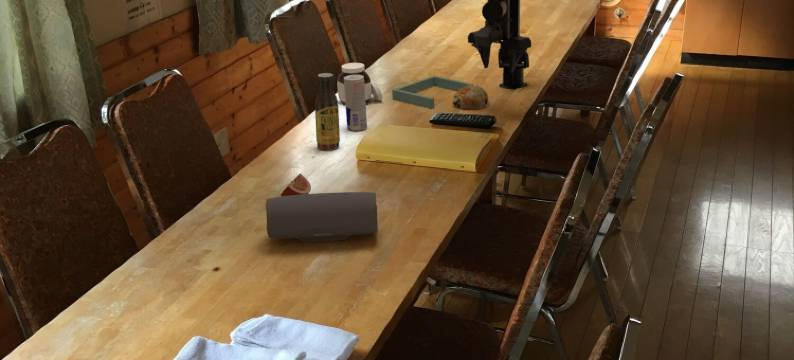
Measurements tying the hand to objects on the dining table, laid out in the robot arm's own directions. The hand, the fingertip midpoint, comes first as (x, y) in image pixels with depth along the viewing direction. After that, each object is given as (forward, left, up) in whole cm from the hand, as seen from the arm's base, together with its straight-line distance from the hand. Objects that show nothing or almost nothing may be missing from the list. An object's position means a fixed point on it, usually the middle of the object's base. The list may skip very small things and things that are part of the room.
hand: (498, 70), depth 266 cm
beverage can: (+35, -23, -13) cm, 44 cm away
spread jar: (+17, -40, -13) cm, 45 cm away
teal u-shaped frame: (0, -26, -13) cm, 29 cm away
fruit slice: (+78, +2, -13) cm, 79 cm away
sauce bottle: (+50, -18, -13) cm, 54 cm away
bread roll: (0, -11, -13) cm, 17 cm away
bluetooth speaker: (+88, +23, -13) cm, 92 cm away
